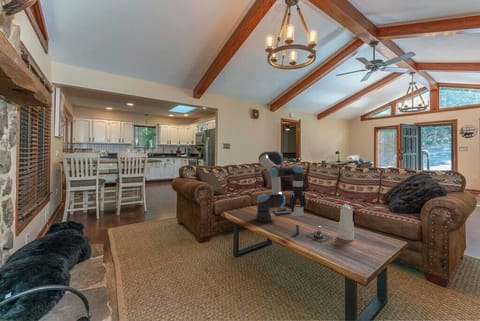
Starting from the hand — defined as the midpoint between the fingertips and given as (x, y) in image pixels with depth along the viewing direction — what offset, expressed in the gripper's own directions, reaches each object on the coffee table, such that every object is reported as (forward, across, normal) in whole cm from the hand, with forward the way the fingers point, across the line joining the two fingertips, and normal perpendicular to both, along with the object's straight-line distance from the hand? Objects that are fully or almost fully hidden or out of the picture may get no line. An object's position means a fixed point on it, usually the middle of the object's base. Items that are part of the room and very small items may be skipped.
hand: (297, 215), depth 168 cm
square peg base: (+16, +10, -12) cm, 22 cm away
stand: (+16, 0, 0) cm, 16 cm away
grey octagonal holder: (-1, 0, 0) cm, 1 cm away
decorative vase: (+16, +28, -22) cm, 39 cm away
